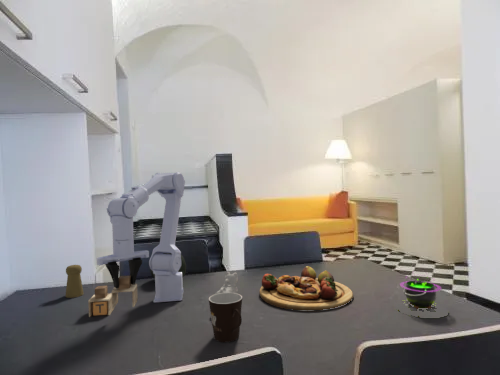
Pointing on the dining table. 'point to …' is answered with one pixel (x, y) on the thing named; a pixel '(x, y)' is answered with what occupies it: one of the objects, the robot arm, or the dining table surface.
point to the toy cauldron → (420, 295)
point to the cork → (74, 281)
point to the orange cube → (100, 308)
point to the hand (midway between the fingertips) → (124, 285)
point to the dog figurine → (229, 284)
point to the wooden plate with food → (304, 291)
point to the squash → (182, 269)
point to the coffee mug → (226, 316)
